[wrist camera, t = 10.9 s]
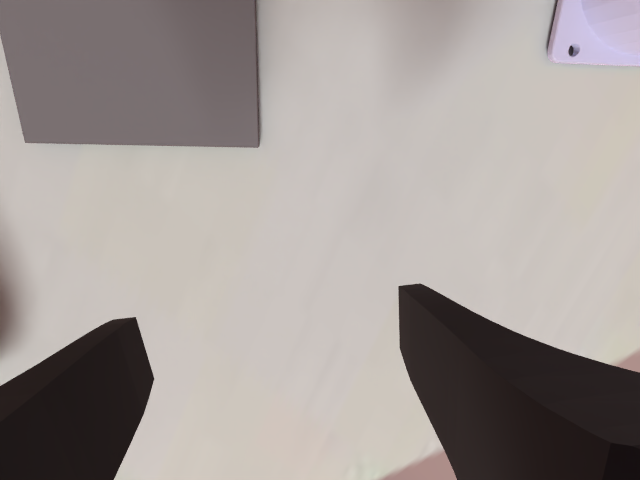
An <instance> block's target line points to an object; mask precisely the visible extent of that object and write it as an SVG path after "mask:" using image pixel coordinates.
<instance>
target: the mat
mask: <svg viewBox="0 0 640 480" xmlns="http://www.w3.org/2000/svg"><path fill="white" fill-rule="evenodd" d="M0 35H1V40H2V44H3V48H4V53H5V57H6V61H7V66H8V70H9V74H10V79H11V83H12V88H13V92H14V96H15V101H16V105H17V109H18V114H19V118H20V122H21V127H22V131H23V136H24V140H25V143H56V144H105V145H155V146H204V147H253V148H258V147H259V121H258V82H257V43H256V4H255V0H0Z"/></svg>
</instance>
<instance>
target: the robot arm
mask: <svg viewBox="0 0 640 480" xmlns="http://www.w3.org/2000/svg"><path fill="white" fill-rule="evenodd" d="M570 46H572V47H573V54H572V55H571V56H570V55H569V54H568V50H569V47H570ZM547 55H548V58H549V60H550V61H551V62H554V63H568V64H592V65H617V66H640V0H558V3H557V8H556V13H555V18H554V22H553V27H552V32H551V37H550V42H549V46H548V54H547ZM399 330H400V350H401V353H402V356H403V359H404V363H405V366H406V369H407V371H408V374H409V377H410V380H411V382H412V384H413V386H414V389H415V391H416V393H417V395H418V397H419V399H420V401H421V403H422V405H423V407H424V409H425V411H426V413H427V415H428V417H429V420H430V422H431V424H432V426H433V428H434V430H435V432H436V434H437V436H438V438H439V440H440V442H441V444H442V446H443V448H444V450H445V452H446V454H447V457H448V459H449V461H450V463H451V466H452V468H453V470H454V472H455V475H456V478H457V480H640V373H638V372H635V371H631V370H627V369H623V368H619V367H616V366H612V365H608V364H605V363H602V362H598V361H595V360H592V359H588V358H585V357H582V356H579V355H575V354H572V353H569V352H566V351H563V350H560V349H557V348H555V347H552V346H549V345H547V344H544V343H541V342H539V341H536V340H534V339H531V338H528V337H526V336H523V335H521V334H519V333H516V332H514V331H512V330H510V329H507V328H505V327H503V326H501V325H499V324H497V323H494V322H492V321H490V320H488V319H486V318H484V317H482V316H480V315H478V314H476V313H474V312H472V311H471V310H469V309H467V308H465V307H463V306H461V305H459V304H458V303H456V302H454V301H452V300H450V299H449V298H447V297H445V296H443V295H441V294H440V293H438V292H436V291H434V290H432V289H430V288H429V287H427V286H425V285H422V284H413V285H404V286H399ZM153 381H154V377H153V373H152V370H151V367H150V363H149V360H148V357H147V353H146V350H145V347H144V343H143V340H142V337H141V333H140V330H139V327H138V323H137V320H136V317H133V318H124V319H116V320H111V321H109V322H107V323H105V324H103V325H101V326H99V327H98V328H96V329H94V330H92V331H91V332H89V333H87V334H86V335H84V336H82V337H81V338H79V339H77V340H76V341H74V342H73V343H71V344H69V345H68V346H66V347H65V348H63V349H61V350H60V351H58V352H57V353H55V354H53V355H52V356H50V357H48V358H47V359H45V360H44V361H42V362H40V363H39V364H37V365H36V366H34V367H32V368H30V369H29V370H27V371H25V372H24V373H22V374H20V375H18V376H17V377H15V378H13V379H12V380H10V381H8V382H7V383H5V384H3V385H1V386H0V480H114V478H115V476H116V474H117V471H118V469H119V467H120V465H121V463H122V461H123V458H124V456H125V454H126V452H127V450H128V448H129V445H130V443H131V441H132V439H133V437H134V434H135V432H136V430H137V428H138V426H139V423H140V421H141V419H142V416H143V414H144V411H145V408H146V405H147V402H148V399H149V395H150V392H151V388H152V385H153Z"/></svg>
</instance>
